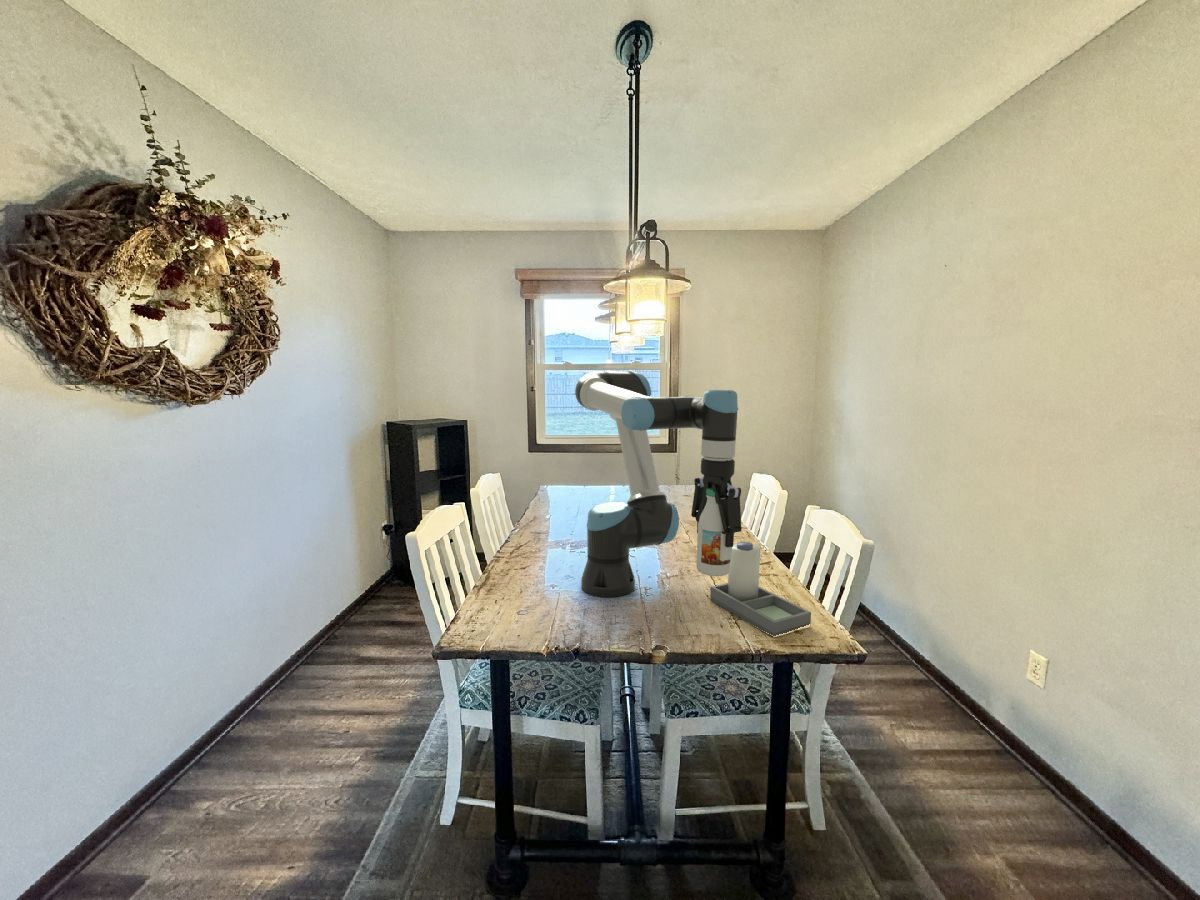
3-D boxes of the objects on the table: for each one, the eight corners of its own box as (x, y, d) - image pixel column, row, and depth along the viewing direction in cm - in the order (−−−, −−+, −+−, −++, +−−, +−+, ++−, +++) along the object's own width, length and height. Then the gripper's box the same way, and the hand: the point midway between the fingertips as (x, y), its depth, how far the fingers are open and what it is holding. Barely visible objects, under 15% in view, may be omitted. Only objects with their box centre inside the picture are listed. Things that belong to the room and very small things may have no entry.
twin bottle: (741, 608, 126) (743, 550, 124) (721, 597, 132) (723, 542, 130) (764, 602, 129) (766, 546, 127) (743, 591, 136) (745, 538, 134)
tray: (773, 638, 113) (774, 622, 113) (710, 600, 133) (710, 586, 133) (810, 627, 119) (811, 612, 118) (743, 592, 138) (744, 579, 138)
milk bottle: (689, 570, 119) (693, 487, 116) (708, 562, 124) (711, 483, 121) (718, 580, 113) (722, 493, 110) (736, 571, 119) (740, 488, 116)
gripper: (763, 463, 107) (757, 566, 111) (702, 450, 125) (699, 538, 129) (736, 466, 104) (730, 571, 107) (678, 452, 122) (675, 542, 125)
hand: (713, 553), depth 118 cm, fingers closed on milk bottle, 8 cm apart
